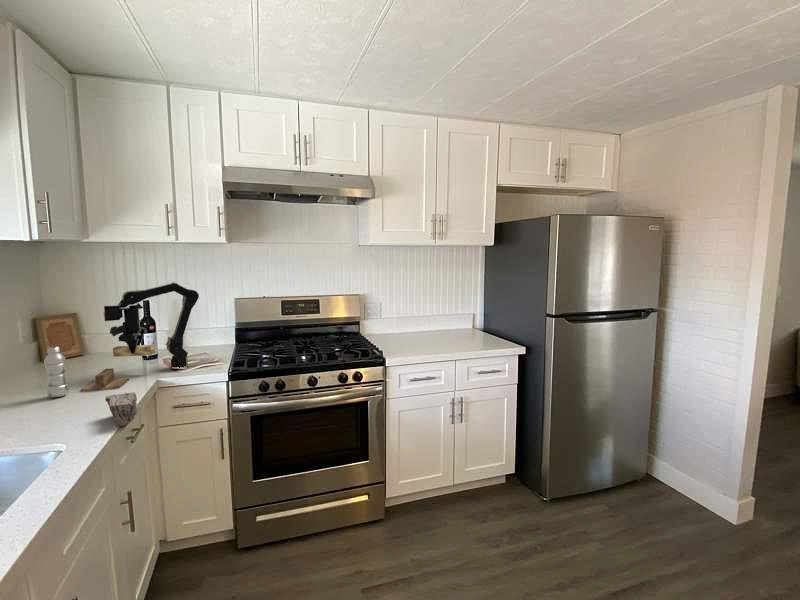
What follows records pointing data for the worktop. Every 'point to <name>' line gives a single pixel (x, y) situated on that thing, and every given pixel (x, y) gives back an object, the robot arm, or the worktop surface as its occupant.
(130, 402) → the stone block
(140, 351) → the oak bar
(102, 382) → the walnut board
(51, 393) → the plastic bottle
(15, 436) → the worktop surface
